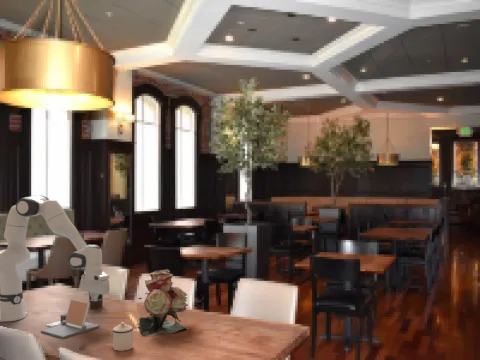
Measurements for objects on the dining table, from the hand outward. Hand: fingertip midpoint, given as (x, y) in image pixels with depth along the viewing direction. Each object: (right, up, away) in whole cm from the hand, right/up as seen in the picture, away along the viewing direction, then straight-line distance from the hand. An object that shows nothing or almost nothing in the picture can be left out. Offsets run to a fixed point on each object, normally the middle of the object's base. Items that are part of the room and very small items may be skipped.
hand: (94, 300), depth 267 cm
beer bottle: (-9, -12, +33) cm, 36 cm away
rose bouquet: (+39, -12, -10) cm, 42 cm away
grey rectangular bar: (-17, -12, 0) cm, 21 cm away
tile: (-6, -4, -8) cm, 11 cm away
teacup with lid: (+23, -12, -40) cm, 47 cm away
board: (-9, -12, -12) cm, 19 cm away
